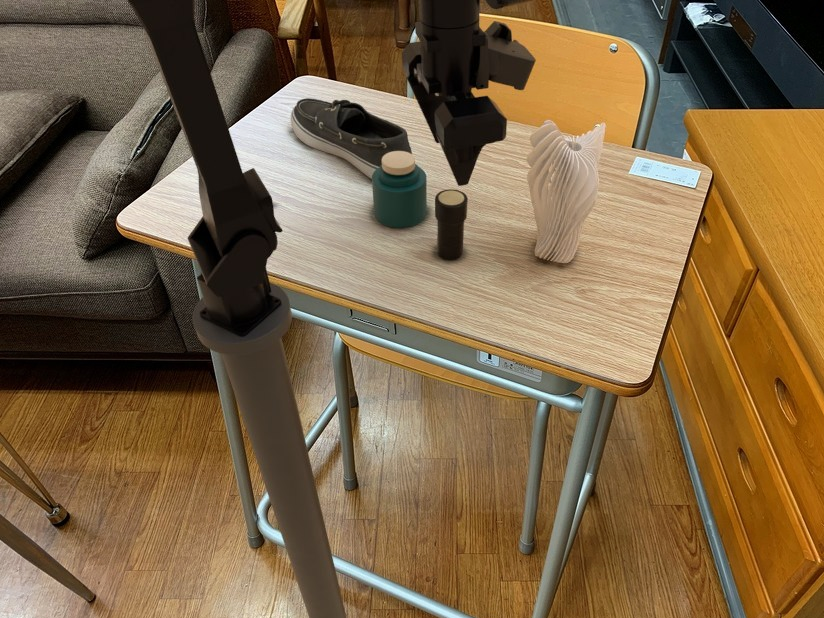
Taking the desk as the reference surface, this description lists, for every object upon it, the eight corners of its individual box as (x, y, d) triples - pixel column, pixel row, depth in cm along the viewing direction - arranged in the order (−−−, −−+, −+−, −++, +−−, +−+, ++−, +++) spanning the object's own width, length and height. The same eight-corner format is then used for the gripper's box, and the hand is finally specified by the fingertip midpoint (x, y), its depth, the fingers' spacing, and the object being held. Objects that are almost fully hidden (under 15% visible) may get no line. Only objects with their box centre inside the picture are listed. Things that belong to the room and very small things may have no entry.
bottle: (408, 234, 85) (406, 180, 80) (364, 217, 88) (359, 163, 82) (436, 207, 89) (436, 154, 84) (393, 192, 92) (390, 140, 86)
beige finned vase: (592, 239, 85) (620, 106, 72) (579, 278, 80) (607, 142, 67) (529, 226, 87) (546, 94, 74) (513, 263, 81) (528, 127, 69)
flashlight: (455, 265, 81) (457, 210, 75) (429, 255, 82) (428, 200, 76) (470, 249, 83) (473, 194, 77) (444, 239, 84) (445, 185, 79)
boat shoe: (323, 111, 108) (318, 68, 103) (433, 171, 96) (434, 125, 91) (279, 130, 104) (271, 85, 99) (389, 195, 91) (386, 147, 86)
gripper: (566, 46, 58) (549, 196, 69) (498, -24, 70) (493, 113, 82) (444, 62, 56) (446, 214, 67) (396, -13, 68) (405, 126, 80)
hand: (451, 162), depth 74 cm, fingers open, 9 cm apart
